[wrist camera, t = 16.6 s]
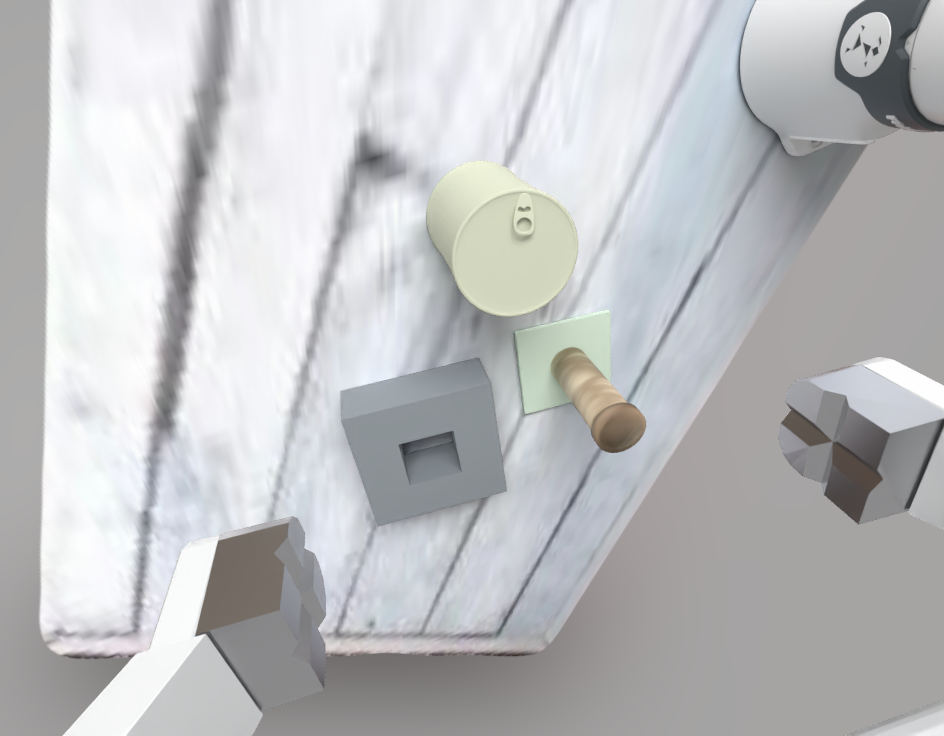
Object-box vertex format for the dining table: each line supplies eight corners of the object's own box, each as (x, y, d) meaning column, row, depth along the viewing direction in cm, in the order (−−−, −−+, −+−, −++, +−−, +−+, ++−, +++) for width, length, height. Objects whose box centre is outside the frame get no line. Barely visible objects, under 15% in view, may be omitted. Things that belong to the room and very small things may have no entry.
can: (535, 163, 45) (593, 192, 35) (521, 267, 49) (569, 320, 39) (428, 157, 43) (457, 185, 32) (424, 266, 47) (448, 321, 37)
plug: (587, 339, 54) (646, 402, 44) (590, 376, 57) (645, 444, 46) (545, 351, 54) (594, 417, 43) (549, 387, 56) (597, 458, 46)
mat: (607, 309, 54) (610, 311, 53) (608, 389, 59) (610, 392, 58) (514, 331, 52) (516, 334, 52) (523, 411, 58) (525, 414, 57)
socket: (478, 357, 53) (490, 383, 49) (495, 461, 60) (506, 491, 56) (340, 391, 51) (341, 420, 47) (375, 493, 59) (377, 526, 54)
